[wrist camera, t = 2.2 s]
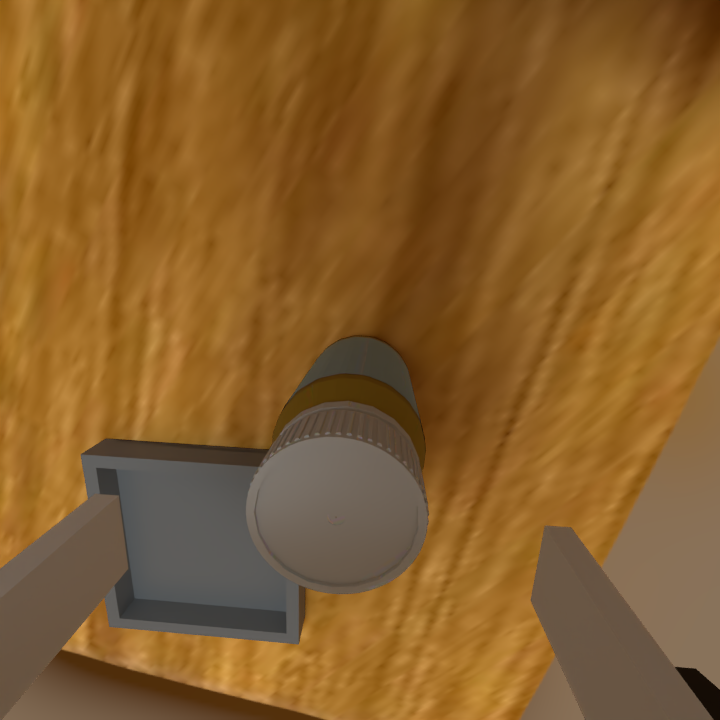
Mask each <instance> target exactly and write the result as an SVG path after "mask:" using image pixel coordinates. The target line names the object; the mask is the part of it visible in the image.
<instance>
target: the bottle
mask: <svg viewBox="0 0 720 720" xmlns="http://www.w3.org/2000/svg"><path fill="white" fill-rule="evenodd" d="M425 452H426V446H425V438H424V434H423V429H422V425H421V421H420V417H419V413H418V409H417V405H416V400H415V396H414V392H413V388H412V384H411V380H410V376H409V372H408V369H407V366H406V364H405V363H404V361H403V359H402V358H401V356H400V354H399V353H398V352H397V351H396V350H395V349H393V348H392V347H391V346H390V345H389V344H387V343H385V342H383V341H381V340H378V339H376V338H373V337H368V336H352V337H348V338H343V339H341V340H338V341H337V342H335V343H333V344H332V345H330V346H329V347H328V348H326V349H325V350H324V352H323V353H322V354H321V355H320V356H319V358H318V359H317V360H316V362H315V363H314V364H313V366H312V367H311V369H310V370H309V372H308V373H307V375H306V376H305V378H304V379H303V380H302V382H301V383H300V385H299V386H298V388H297V389H296V391H295V392H294V393H293V395H292V396H291V398H290V399H289V401H288V402H287V404H286V405H285V407H284V408H283V410H282V412H281V414H280V416H279V418H278V421H277V424H276V426H275V429H274V432H273V444H272V446H271V448H270V449H269V451H268V452H267V454H266V456H265V457H264V459H263V461H262V462H261V464H260V466H259V467H258V469H257V471H256V472H255V474H254V476H253V479H252V481H251V483H250V488H249V490H248V496H247V501H246V519H247V525H248V529H249V533H250V535H251V538H252V540H253V542H254V544H255V546H256V548H257V550H258V551H259V553H260V554H261V555H262V557H263V558H264V559H265V560H266V561H267V562H268V564H269V565H270V566H271V567H273V568H274V569H275V570H276V571H277V572H278V573H280V574H281V575H283V576H284V577H286V578H287V579H289V580H291V581H292V582H294V583H296V584H298V585H301V586H303V587H306V588H309V589H312V590H315V591H320V592H325V593H332V594H352V593H360V592H365V591H369V590H372V589H375V588H378V587H380V586H383V585H385V584H387V583H389V582H390V581H392V580H394V579H395V578H397V577H398V576H399V575H401V574H402V573H403V572H404V571H405V570H406V569H407V568H408V567H409V566H410V565H411V564H412V563H413V561H414V560H415V559H416V557H417V555H418V554H419V552H420V550H421V548H422V546H423V543H424V540H425V536H426V532H427V525H428V515H429V511H428V503H427V497H426V492H425V487H424V482H423V476H422V470H423V467H424V460H425Z"/></svg>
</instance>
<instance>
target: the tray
mask: <svg viewBox="0 0 720 720" xmlns="http://www.w3.org/2000/svg"><path fill="white" fill-rule="evenodd" d="M268 451H269V450H265V449H250V448H235V447H220V446H206V445H191V444H176V443H162V442H147V441H132V440H118V439H104V440H103V441H101V442H100V443H98V444H97V445H95V446H93V447H92V448H90V449H89V450H87V451H85V452H84V453H82V454H81V459H82V465H83V471H84V477H85V483H86V489H87V495H88V499H89V498H90V497H92V496H93V495H94V494H104V495H118V496H119V502H120V509H121V517H122V524H123V532H124V539H125V547H126V554H127V562H128V570H127V571H126V572H125V573H124V574H123V576H122V577H121V578H120V579H119V580H118V582H117V583H116V584H115V585H114V586H113V588H112V589H111V590H110V591H109V592H108V594H107V595H106V596H105V603H106V609H107V615H108V621H109V627H118V628H128V629H139V630H150V631H161V632H172V633H183V634H193V635H204V636H215V637H226V638H237V639H248V640H258V641H269V642H280V643H291V644H299V641H300V636H301V632H302V627H303V623H304V618H305V587H303V586H301V585H298V584H296V583H294V582H292V581H291V580H289V579H287V578H286V577H284V576H283V575H281V574H280V573H278V572H277V571H276V570H275V569H274V568H273V567H271V566H270V565H269V564H268V562H267V561H266V560H265V559H264V558H263V557H262V555H261V554H260V553H259V551H258V550H257V548H256V546H255V544H254V542H253V540H252V538H251V535H250V533H249V529H248V525H247V519H246V501H247V496H248V490H249V488H250V483H251V481H252V479H253V476H254V474H255V472H256V471H257V469H258V467H259V466H260V464H261V462H262V461H263V459H264V457H265V456H266V454H267V452H268Z"/></svg>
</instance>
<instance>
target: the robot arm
mask: <svg viewBox="0 0 720 720" xmlns="http://www.w3.org/2000/svg"><path fill="white" fill-rule="evenodd" d="M127 570H128V562H127V554H126V547H125V539H124V532H123V524H122V517H121V509H120V502H119V496H118V495H104V494H94V495H93V496H92V497H90V498H89V499H88V500H87V501H85V502H84V503H83V504H82V505H80V506H79V507H78V508H76V509H75V510H74V511H73V512H71V513H70V514H69V515H68V516H66V517H65V518H64V519H63V520H61V521H60V522H59V523H57V524H56V525H55V526H54V527H52V528H51V529H50V530H49V531H47V532H46V533H45V534H44V535H42V536H41V537H40V538H39V539H37V540H36V541H35V542H33V543H32V544H31V545H30V546H28V547H27V548H26V549H25V550H23V551H22V552H21V553H20V554H18V555H17V556H16V557H14V558H13V559H12V560H11V561H9V562H8V563H7V564H6V565H4V566H3V567H2V568H1V569H0V720H2V719H3V718H4V717H5V715H6V714H7V713H8V712H9V711H10V709H11V708H12V707H13V706H14V705H15V703H16V702H17V701H18V700H19V699H20V697H21V696H22V695H23V694H24V693H25V691H26V690H27V689H28V688H29V687H30V685H31V684H32V683H33V682H34V681H35V680H36V678H37V677H38V676H39V675H40V673H41V672H42V671H43V670H44V669H45V668H46V666H47V665H48V664H49V663H50V662H51V660H52V659H53V658H54V657H55V656H56V654H57V653H58V652H59V651H60V650H61V648H62V647H63V646H64V645H65V644H66V643H67V641H68V640H69V639H70V638H71V637H72V635H73V634H74V633H75V632H76V631H77V629H78V628H79V627H80V626H81V625H82V623H83V622H84V621H85V620H86V619H87V617H88V616H89V615H90V614H91V613H92V611H93V610H94V609H95V608H96V607H97V606H98V604H99V603H100V602H101V601H102V600H103V598H104V597H105V596H106V595H107V594H108V592H109V591H110V590H111V589H112V588H113V586H114V585H115V584H116V583H117V582H118V580H119V579H120V578H121V577H122V576H123V574H124V573H125V572H126V571H127ZM531 602H532V604H533V607H534V609H535V611H536V613H537V615H538V618H539V620H540V622H541V624H542V626H543V629H544V631H545V633H546V635H547V637H548V640H549V642H550V644H551V646H552V648H553V650H554V653H555V655H556V657H557V659H558V661H559V664H560V666H561V668H562V670H563V672H564V675H565V677H566V679H567V681H568V683H569V685H570V688H571V690H572V692H573V694H574V696H575V698H576V701H577V703H578V705H579V707H580V710H581V712H582V714H583V716H584V718H585V720H720V690H719V689H718V688H717V687H716V686H715V685H714V684H713V683H711V682H710V681H709V680H708V679H707V678H706V677H704V676H703V675H702V674H701V673H700V672H699V671H697V669H693V668H681V667H674V666H673V664H672V663H671V662H670V660H669V659H668V658H667V656H666V655H665V654H664V652H663V651H662V650H661V648H660V647H659V645H658V644H657V643H656V641H655V640H654V639H653V637H652V636H651V635H650V633H649V632H648V631H647V629H646V628H645V627H644V625H643V624H642V623H641V621H640V620H639V619H638V617H637V616H636V614H635V613H634V612H633V610H632V609H631V608H630V606H629V605H628V604H627V602H626V601H625V600H624V598H623V597H622V596H621V594H620V593H619V592H618V590H617V589H616V587H615V586H614V585H613V583H612V582H611V581H610V579H609V578H608V577H607V575H606V574H605V573H604V571H603V570H602V569H601V567H600V566H599V564H598V563H597V562H596V560H595V559H594V558H593V556H592V555H591V554H590V552H589V551H588V550H587V548H586V547H585V546H584V544H583V543H582V542H581V540H580V539H579V538H578V536H577V535H576V533H575V532H574V531H573V529H572V528H571V527H557V526H545V528H544V533H543V538H542V544H541V549H540V554H539V559H538V564H537V570H536V575H535V580H534V585H533V590H532V596H531Z"/></svg>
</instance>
